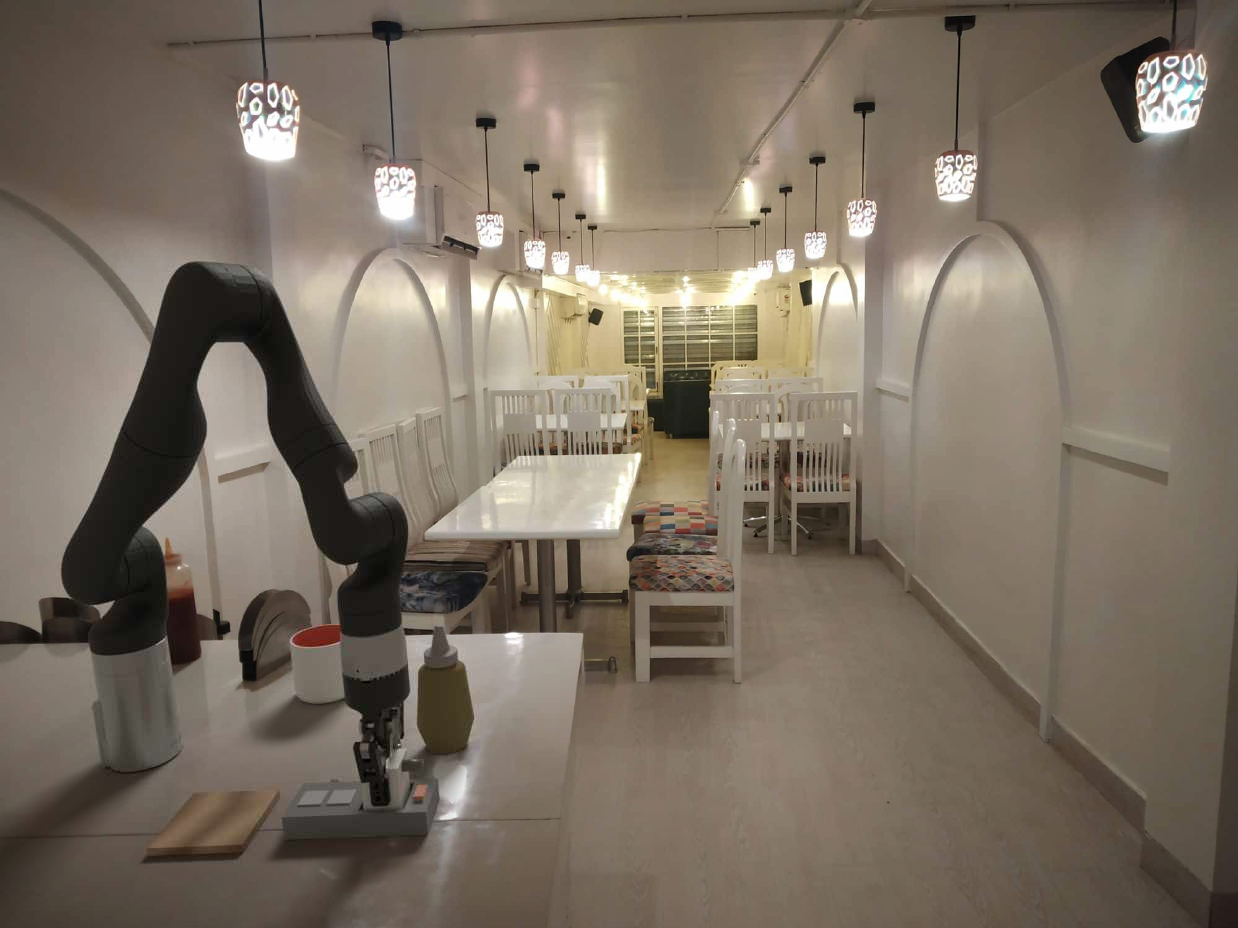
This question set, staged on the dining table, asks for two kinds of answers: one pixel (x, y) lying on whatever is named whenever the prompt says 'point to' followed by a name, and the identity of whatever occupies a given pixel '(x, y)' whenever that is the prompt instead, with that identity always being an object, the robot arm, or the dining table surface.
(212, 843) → the walnut board
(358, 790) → the power strip
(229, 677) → the dining table surface
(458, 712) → the squeeze bottle
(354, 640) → the robot arm
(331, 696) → the cup
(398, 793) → the block
